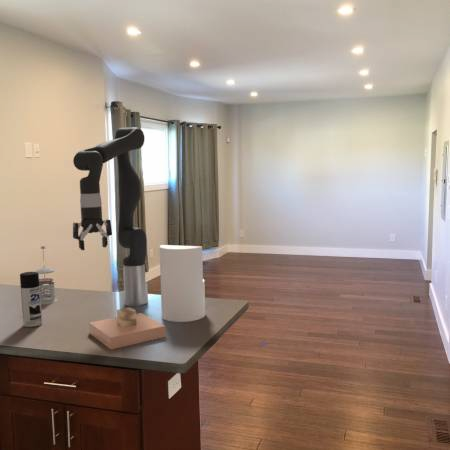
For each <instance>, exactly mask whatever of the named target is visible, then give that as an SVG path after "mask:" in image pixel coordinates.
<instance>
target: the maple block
mask: <svg viewBox="0 0 450 450" xmlns="http://www.w3.org/2000/svg"><path fill="white" fill-rule="evenodd" d="M136 314H137V310H136V309H134V308H132V307H126V308H120V309H116V317H117V324H119V325H120V326H122V327H127V326H132V325H136Z"/></svg>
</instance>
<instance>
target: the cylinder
mask: <svg viewBox="0 0 450 450" xmlns="http://www.w3.org/2000/svg"><path fill="white" fill-rule="evenodd" d="M203 264H204V261H203V246H201V245H200V246H198V245H175V244H173V245H172V244H161V245H159V272H160V274H159V275H160V299H161V301H160V302H161V318H162V319H163V320H165V321H167V322H168V321H169V322H175V323H183V322H184V323H185V322H186V323H187V322H193V321H194V322H195V321H197V320H201V319H203V318H205V316H206V292H205V289H206V288H205V285H206V284H205V279H204V270H203V267H204V266H203Z"/></svg>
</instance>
